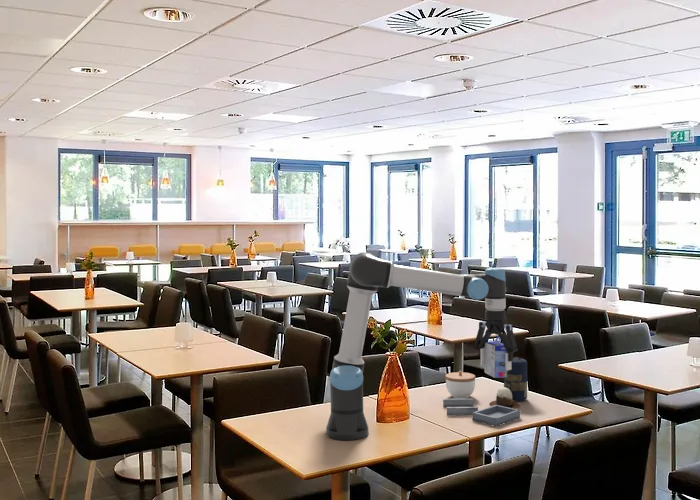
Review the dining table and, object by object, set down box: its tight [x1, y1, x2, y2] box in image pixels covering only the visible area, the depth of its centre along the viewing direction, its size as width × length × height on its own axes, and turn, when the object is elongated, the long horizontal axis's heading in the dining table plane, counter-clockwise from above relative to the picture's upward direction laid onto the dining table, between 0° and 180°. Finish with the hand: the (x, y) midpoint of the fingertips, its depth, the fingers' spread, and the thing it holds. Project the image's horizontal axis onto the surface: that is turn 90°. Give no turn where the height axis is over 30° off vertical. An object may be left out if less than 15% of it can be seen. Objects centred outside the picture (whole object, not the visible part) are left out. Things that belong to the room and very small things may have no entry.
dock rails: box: [442, 398, 479, 416], centre depth 276 cm, size 12×13×3 cm
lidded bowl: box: [445, 370, 476, 399], centre depth 296 cm, size 13×13×11 cm
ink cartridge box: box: [484, 336, 507, 379], centre depth 262 cm, size 10×6×14 cm, turn 12°
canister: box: [503, 356, 528, 402], centre depth 290 cm, size 10×10×18 cm
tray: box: [471, 405, 521, 427], centre depth 263 cm, size 11×15×3 cm
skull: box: [488, 386, 521, 410], centre depth 282 cm, size 12×10×10 cm
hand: (495, 367), depth 262 cm, fingers closed on ink cartridge box, 11 cm apart
